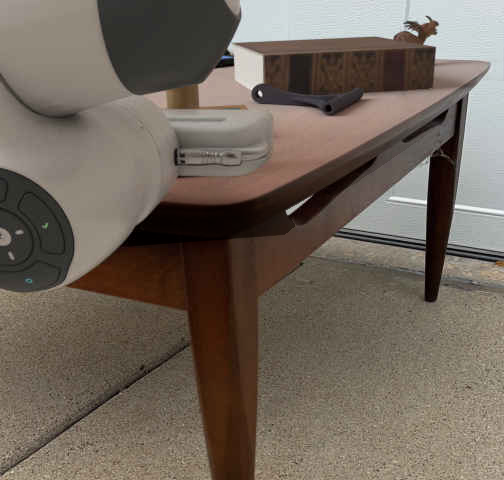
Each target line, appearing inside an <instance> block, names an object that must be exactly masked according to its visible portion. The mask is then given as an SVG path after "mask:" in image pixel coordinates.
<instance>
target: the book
mask: <svg viewBox="0 0 504 480" xmlns="http://www.w3.org/2000/svg"><path fill="white" fill-rule="evenodd" d="M231 45H232V46H233V55H234V65H233V67H234V78H233V80H234V79H235V80H236V81H235V80H234V81H235V82H237V81H238V82H237V83H238V84H240V83H241V84H240V85H242V86H243V87H245V88H247V89H248V90H250V91H252V89H253V88H254V87H255V86H256V85H258V84H261V83H263V84H266V85H268V86H271V87H274V88H277V89H280V90H283V91H286V92H292V93H298V94H304V95H331V94H345V93H347V92H350V91H352V90H354V89H356V88H361V89H362V90H363V94H367V93H368V94H370V93H387V92H401V91H402V92H403V91H419V90H418V89H421V90H431V89H430V88H434V79H435V66H436V55H437V53H436V52H437V46H434V45H427V44H423V45H422V44H417V43H411V42H405V41H399V40H393V38H387V37H382V36H356V37H355V36H354V37H334V38H331V37H330V38H313V39H312V38H311V39H310V38H309V39H308V38H307V39H289V40H287V39H286V40H266V41H244V42H231ZM258 94H259V96H260V97H262V92H261V91H260V90H259V92H258Z"/></svg>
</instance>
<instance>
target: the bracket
mask: <svg viewBox="0 0 504 480" xmlns="http://www.w3.org/2000/svg"><path fill="white" fill-rule="evenodd" d="M259 90H260V91H261V92H262V96H260V95H259V94H258V92H259ZM250 95H251V99H252V100H253V102H255V103H257V104H265V105H267V104H268V105H284V106H285V105H287V106H288V105H289V106H308V107H318V108H319V109H320V110H321V111H322V113H323V114H325V115H327V116H330V115H332V114H334V113H336V112H338V111H340V110H342V109H344V108H346V107H347V106H349V105H351V104H353V103H355V102H356V101H357V102H358V100H361V99H362V98H363V97H364V93H363V90H362V89H361V88H356V89H354V90H352V91H350V92H347V93H345V94H331V95H304V94H298V93H292V92H286V91H283V90H280V89H277V88H274V87H271V86H268V85H266V84H263V83H261V84H258V85H256V86H255V87H254V88H253V89H252V90H251V94H250Z"/></svg>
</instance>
